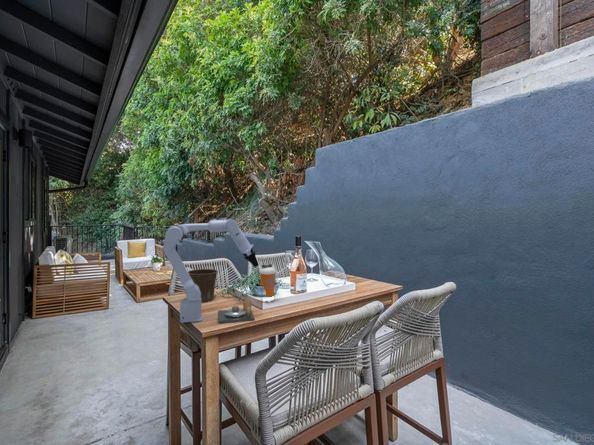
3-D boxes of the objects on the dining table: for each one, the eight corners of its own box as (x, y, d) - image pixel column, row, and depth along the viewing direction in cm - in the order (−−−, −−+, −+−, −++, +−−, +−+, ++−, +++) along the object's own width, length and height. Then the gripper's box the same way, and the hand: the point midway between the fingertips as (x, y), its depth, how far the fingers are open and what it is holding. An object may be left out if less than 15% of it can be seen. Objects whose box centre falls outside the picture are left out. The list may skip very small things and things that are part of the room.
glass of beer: (256, 300, 180) (256, 264, 179) (269, 297, 186) (269, 263, 185) (265, 304, 173) (265, 266, 172) (279, 301, 179) (278, 265, 178)
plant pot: (217, 295, 192) (217, 268, 192) (218, 302, 177) (217, 273, 176) (188, 297, 188) (188, 269, 188) (186, 304, 172) (186, 274, 172)
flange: (232, 318, 145) (232, 308, 145) (220, 313, 152) (220, 304, 152) (256, 311, 155) (256, 302, 154) (244, 307, 162) (244, 298, 162)
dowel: (246, 317, 148) (246, 307, 148) (246, 316, 149) (246, 306, 149) (250, 316, 148) (250, 307, 148) (250, 315, 150) (250, 306, 150)
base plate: (218, 323, 143) (218, 321, 143) (218, 312, 158) (217, 310, 158) (254, 320, 147) (254, 318, 146) (250, 310, 162) (250, 307, 162)
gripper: (249, 238, 149) (265, 262, 152) (246, 234, 163) (260, 256, 166) (236, 247, 148) (252, 271, 151) (234, 242, 162) (248, 264, 165)
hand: (255, 264), depth 158 cm, fingers open, 7 cm apart
